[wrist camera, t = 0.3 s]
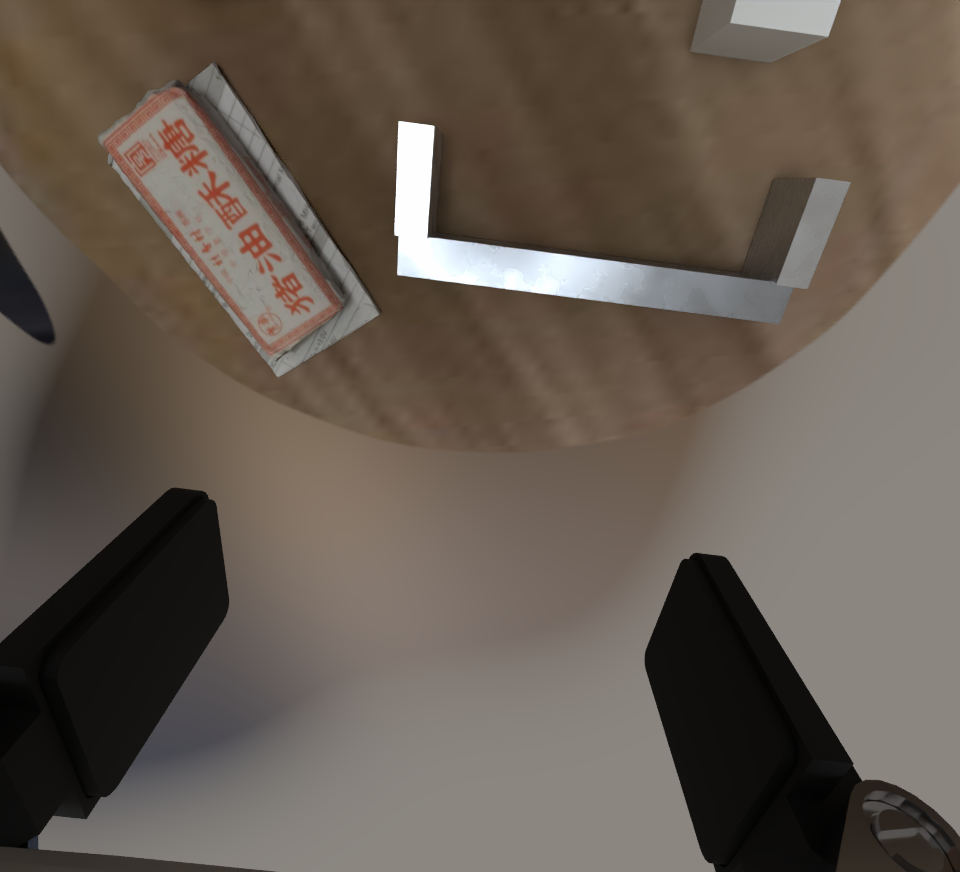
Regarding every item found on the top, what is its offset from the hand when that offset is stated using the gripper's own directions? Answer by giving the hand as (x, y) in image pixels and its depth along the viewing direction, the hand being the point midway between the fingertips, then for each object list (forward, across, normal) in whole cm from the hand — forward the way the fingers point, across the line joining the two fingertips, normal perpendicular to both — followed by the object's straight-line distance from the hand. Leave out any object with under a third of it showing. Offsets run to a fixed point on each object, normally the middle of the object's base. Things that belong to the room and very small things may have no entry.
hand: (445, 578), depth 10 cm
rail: (+30, -7, -6) cm, 31 cm away
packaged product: (+31, +17, -2) cm, 35 cm away
